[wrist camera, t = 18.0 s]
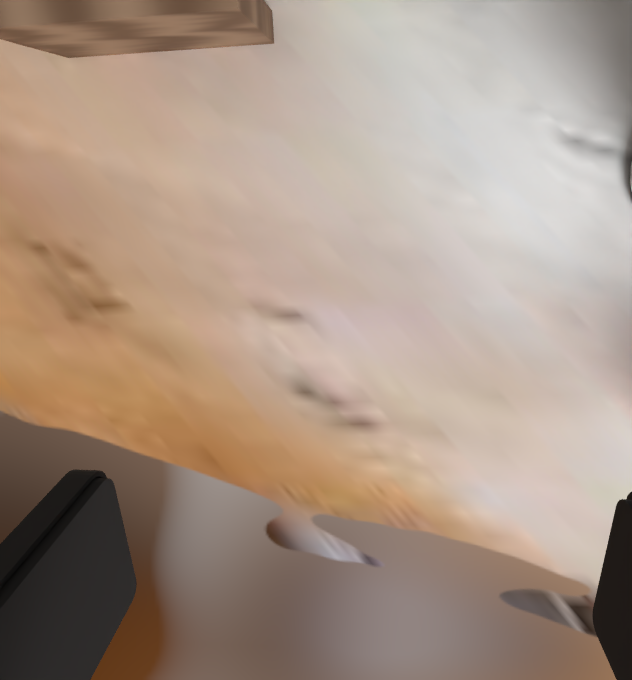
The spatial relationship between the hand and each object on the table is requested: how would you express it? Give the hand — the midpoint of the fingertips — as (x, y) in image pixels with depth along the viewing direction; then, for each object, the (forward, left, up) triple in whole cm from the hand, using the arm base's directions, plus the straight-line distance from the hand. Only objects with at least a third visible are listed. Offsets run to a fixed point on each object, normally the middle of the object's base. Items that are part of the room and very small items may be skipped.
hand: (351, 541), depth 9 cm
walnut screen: (+15, -15, -33) cm, 39 cm away
